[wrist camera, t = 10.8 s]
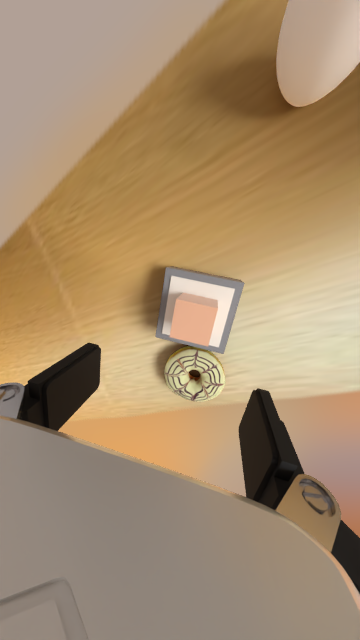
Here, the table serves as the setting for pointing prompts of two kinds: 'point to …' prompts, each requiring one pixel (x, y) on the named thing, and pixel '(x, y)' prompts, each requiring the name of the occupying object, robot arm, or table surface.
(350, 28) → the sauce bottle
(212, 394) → the decorated donut
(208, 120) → the table surface
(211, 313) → the terracotta cube
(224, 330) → the grey flat square block
